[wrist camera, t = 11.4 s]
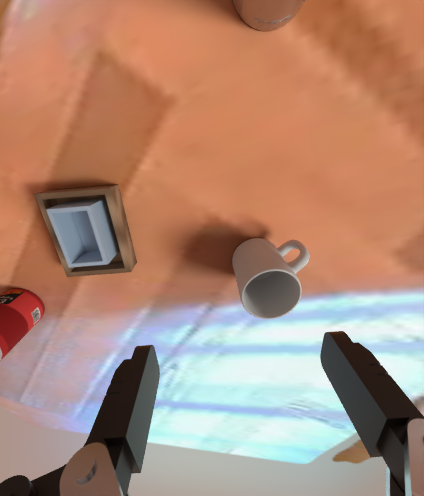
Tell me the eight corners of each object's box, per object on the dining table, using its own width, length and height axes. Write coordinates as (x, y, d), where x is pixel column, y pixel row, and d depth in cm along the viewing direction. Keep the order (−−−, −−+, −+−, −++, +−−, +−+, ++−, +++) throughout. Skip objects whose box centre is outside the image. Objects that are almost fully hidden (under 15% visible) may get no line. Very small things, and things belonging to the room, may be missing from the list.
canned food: (22, 280, 41) (-38, 323, 31) (55, 310, 44) (10, 358, 34) (-7, 298, 42) (-73, 344, 32) (27, 325, 45) (-24, 376, 35)
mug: (251, 287, 43) (266, 329, 33) (222, 258, 40) (227, 295, 30) (303, 247, 40) (337, 281, 30) (275, 214, 37) (301, 238, 27)
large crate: (50, 190, 34) (34, 194, 31) (118, 184, 34) (109, 188, 31) (78, 266, 40) (67, 277, 37) (136, 262, 40) (130, 272, 37)
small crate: (67, 201, 34) (45, 209, 30) (105, 198, 34) (90, 205, 30) (85, 253, 38) (68, 267, 34) (119, 250, 38) (108, 264, 34)
